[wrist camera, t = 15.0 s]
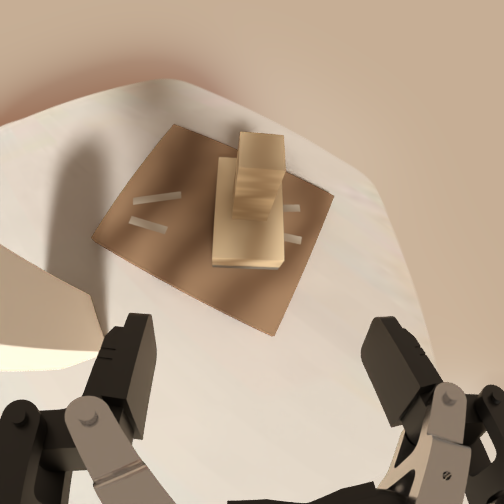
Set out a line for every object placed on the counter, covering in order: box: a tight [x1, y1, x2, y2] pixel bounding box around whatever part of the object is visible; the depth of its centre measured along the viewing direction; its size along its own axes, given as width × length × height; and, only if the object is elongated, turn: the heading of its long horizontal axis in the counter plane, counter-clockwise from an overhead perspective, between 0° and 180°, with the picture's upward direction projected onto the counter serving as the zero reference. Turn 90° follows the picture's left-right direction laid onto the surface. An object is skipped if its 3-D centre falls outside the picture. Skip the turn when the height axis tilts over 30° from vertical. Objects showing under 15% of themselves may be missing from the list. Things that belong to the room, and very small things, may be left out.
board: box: [91, 124, 334, 336], centre depth 30 cm, size 20×16×1 cm
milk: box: [0, 244, 104, 371], centre depth 15 cm, size 6×6×22 cm
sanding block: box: [212, 132, 286, 270], centre depth 24 cm, size 6×10×11 cm, turn 179°
